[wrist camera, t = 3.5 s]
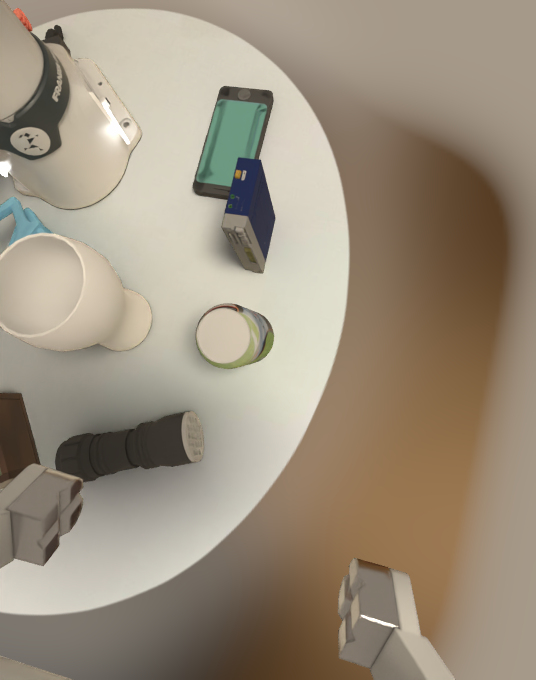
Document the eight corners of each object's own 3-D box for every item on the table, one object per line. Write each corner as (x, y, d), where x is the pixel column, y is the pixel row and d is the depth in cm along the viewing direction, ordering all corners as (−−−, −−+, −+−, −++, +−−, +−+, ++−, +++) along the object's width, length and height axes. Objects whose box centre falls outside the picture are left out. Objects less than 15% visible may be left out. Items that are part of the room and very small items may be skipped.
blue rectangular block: (257, 214, 48) (236, 154, 36) (275, 217, 48) (261, 156, 36) (244, 271, 47) (219, 227, 35) (263, 274, 47) (243, 230, 35)
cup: (179, 304, 47) (115, 259, 33) (133, 379, 47) (46, 367, 32) (112, 265, 50) (24, 207, 35) (67, 336, 49) (-42, 307, 34)
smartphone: (273, 89, 49) (245, 197, 47) (274, 97, 51) (247, 202, 49) (218, 84, 51) (189, 188, 49) (221, 91, 52) (192, 194, 50)
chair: (41, 218, 53) (106, 261, 51) (2, 266, 52) (67, 313, 50) (-2, 184, 45) (72, 233, 43) (-49, 240, 44) (25, 293, 42)
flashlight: (83, 481, 46) (51, 492, 40) (78, 435, 47) (46, 440, 41) (206, 457, 44) (190, 465, 39) (199, 410, 45) (182, 411, 40)
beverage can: (273, 312, 46) (257, 281, 34) (276, 374, 45) (260, 364, 33) (222, 316, 47) (188, 287, 35) (223, 377, 45) (189, 368, 34)
